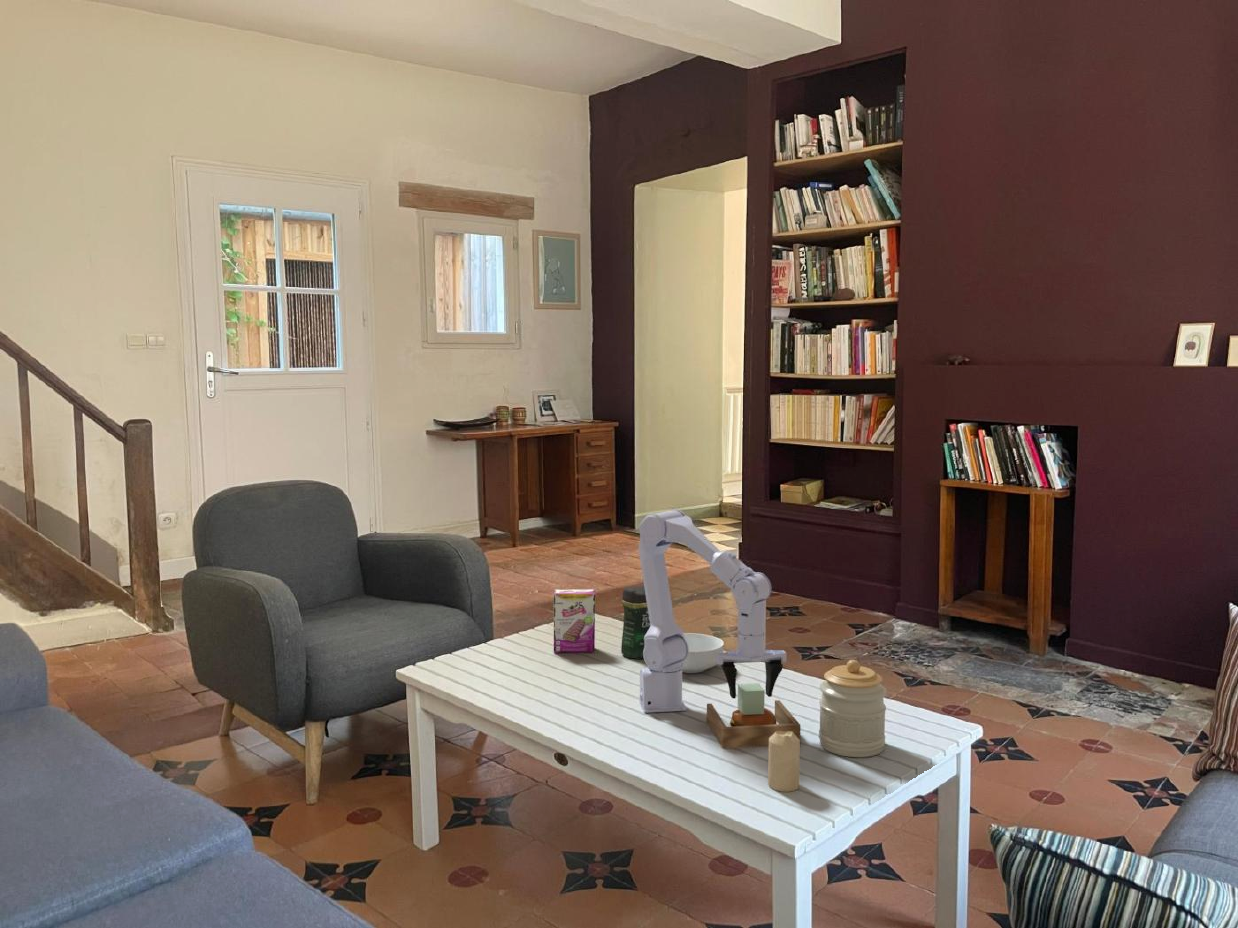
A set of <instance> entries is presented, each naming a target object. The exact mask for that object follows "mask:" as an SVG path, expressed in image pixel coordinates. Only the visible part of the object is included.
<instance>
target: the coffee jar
mask: <svg viewBox="0 0 1238 928" xmlns="http://www.w3.org/2000/svg"><path fill="white" fill-rule="evenodd" d="M621 604H622V606H623V607H622V608H623V626H622V627H623V628H622V636H621V647H620V648H621V650H620V651H621V652H620V653H621V654H622V655H623V656H625V657H626V658H629V659H630V658H631V659H644V657H643V650H644V645H645V643H644V636H645V635H646V633H647V631H648V630H649V628H650V620H649V613H648V607H647V600H646V594H645V588H644V584H641V585H637V586H632V587H625V588H624V589H623V590H622V596H621Z"/></svg>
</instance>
